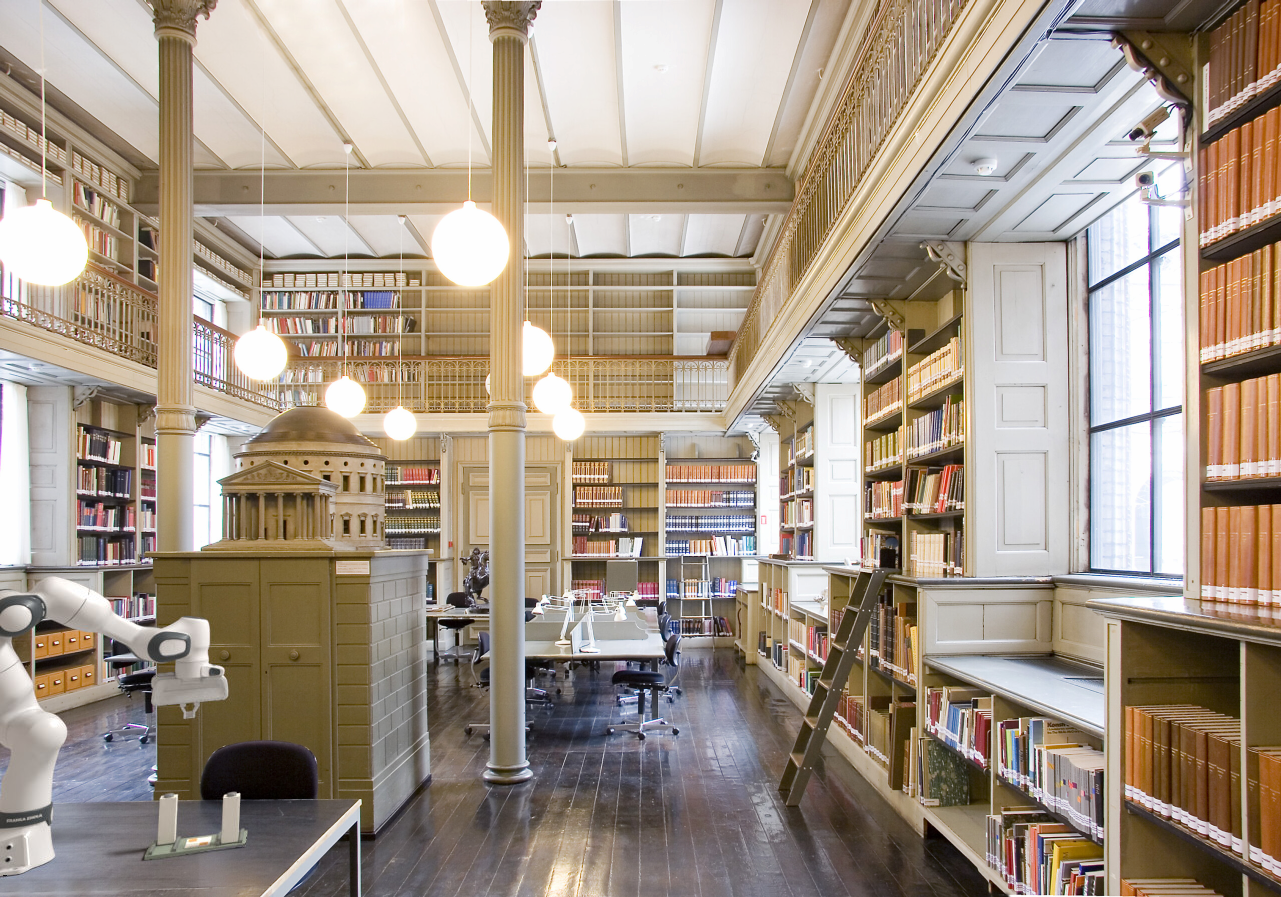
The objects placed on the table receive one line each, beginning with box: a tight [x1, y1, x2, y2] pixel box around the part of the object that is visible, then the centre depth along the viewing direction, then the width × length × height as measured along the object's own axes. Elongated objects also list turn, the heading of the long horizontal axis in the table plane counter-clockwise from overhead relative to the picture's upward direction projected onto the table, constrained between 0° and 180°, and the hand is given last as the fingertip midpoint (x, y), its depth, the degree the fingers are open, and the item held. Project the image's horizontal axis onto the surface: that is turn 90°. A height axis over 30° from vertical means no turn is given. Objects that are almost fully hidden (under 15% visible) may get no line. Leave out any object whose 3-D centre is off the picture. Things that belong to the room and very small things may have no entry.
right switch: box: [221, 791, 241, 844], centre depth 230 cm, size 3×4×13 cm
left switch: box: [157, 792, 179, 845], centre depth 230 cm, size 3×4×13 cm
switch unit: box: [144, 827, 249, 861], centre depth 229 cm, size 11×24×2 cm, turn 112°
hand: (189, 718), depth 249 cm, fingers closed
